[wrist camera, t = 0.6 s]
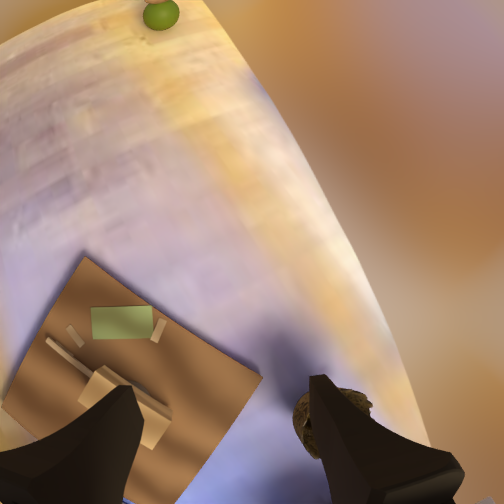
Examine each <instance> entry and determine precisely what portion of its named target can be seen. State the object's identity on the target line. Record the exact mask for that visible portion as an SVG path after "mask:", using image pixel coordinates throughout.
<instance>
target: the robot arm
mask: <svg viewBox="0 0 504 504" xmlns="http://www.w3.org/2000/svg"><path fill="white" fill-rule="evenodd" d="M309 415H310V420H311V426H312V431H313V435H314V439H315V442H316V445H317V448H318V451H319V454H320V457H321V460H322V463H323V466H324V470H325V473H326V476H327V480H328V483H329V488H330V493H331V499H332V504H456V503H455V502H454V500H453V496H454V495H455V493H456V491H457V490H458V489H459V487H460V485H461V484H462V481H463V479H464V476H465V472H464V471H463V469H462V467H461V466H460V464H459V463H458V461H457V460H456V459H455V457H454V456H453V455H452V454H451V453H450V452H446V451H442V450H438V449H434V448H430V447H427V446H424V445H422V444H419V443H416V442H413V441H411V440H409V439H406V438H404V437H402V436H400V435H398V434H396V433H394V432H392V431H390V430H389V429H387V428H385V427H384V426H382V425H380V424H379V423H377V422H376V421H375V420H373V419H372V418H370V417H369V416H368V415H367V414H365V413H364V412H363V411H362V410H360V409H359V408H358V407H357V406H356V405H355V404H354V403H352V402H351V401H350V400H349V399H348V398H347V397H346V396H345V395H344V394H343V393H342V392H341V391H340V390H339V389H338V388H337V387H336V386H335V384H334V383H333V382H332V381H331V380H330V379H329V378H328V376H327V375H325V374H322V375H315V376H309ZM144 421H145V420H144V418H143V415H142V413H141V410H140V407H139V405H138V402H137V399H136V396H135V393H134V391H133V388H132V385H118V386H117V387H115V388H114V389H113V390H111V391H110V392H109V393H108V394H106V395H105V396H104V397H103V398H102V399H101V400H99V401H98V402H97V403H96V404H94V405H93V406H92V407H91V408H90V409H88V410H87V411H86V412H84V413H83V414H82V415H80V416H79V417H78V418H76V419H75V420H74V421H72V422H71V423H69V424H68V425H66V426H65V427H63V428H61V429H60V430H58V431H56V432H54V433H53V434H51V435H49V436H47V437H44V438H42V439H40V440H38V441H36V442H33V443H31V444H28V445H25V446H22V447H19V448H16V449H12V450H8V451H3V452H0V502H1V503H2V504H125V503H123V502H122V501H123V495H124V490H125V486H126V482H127V479H128V476H129V473H130V470H131V467H132V464H133V462H134V459H135V456H136V453H137V450H138V447H139V444H140V441H141V437H142V432H143V427H144ZM475 504H495V502H494V501H493V499H492V498H491V497H487V498H485V499H483V500H481V501H479V502H477V503H475Z"/></svg>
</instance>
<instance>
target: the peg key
mask: <svg viewBox="0 0 504 504" xmlns="http://www.w3.org/2000/svg"><path fill="white" fill-rule="evenodd" d="M46 343H47V344H49V345H50V346H51V347H52V348H53V349H54V350H56V351H57V352H58V353H59V354H60V355H62V356H63V357H64V358H65V359H66V360H68V361H69V362H70V363H71V364H73V365H74V366H75V367H76V368H78V369H79V370H80V371H81V372H83V373H84V374H85V375H87V376H88V377H89V378H90V380H89V382H88V383H87V385H86V387H85V388H84V390H83V392H82V394H81V395H80V397H79V399H78V400H77V401H78V402H80V403H81V404H82V405H84V406H85V407H86V408H88V409H90V408H91V407H92V406H93V405H94V404H96V403H97V402H98V401H99V400H101V399H102V398H103V397H104V396H105V395H106V394H108V393H109V392H110V391H111V390H113V389H114V388H115V387H117V386H118V385H132V388H133V391H134V393H135V396H136V399H137V402H138V405H139V407H140V410H141V413H142V415H143V418H144V420H145V421H144V427H143V432H142V437H141V441H140V443H141V444H142V445H144V446H146V447H148V448H149V449H151V450H153V448H154V447H155V445H156V444H157V442H158V441H159V439H160V438H161V437H162V435H163V434H164V432H165V431H166V429H167V428H168V426H169V425H170V423H171V422H172V413H173V410H171V409H170V408H168V407H166V406H165V405H163V404H161V403H160V402H158V401H157V400H155V399H153V398H152V397H150V394H149V392H148V391H147V389H146V388H145V387H144V386H143V385H141V384H140V383H138V382H136V381H132V380H125V379H123V378H122V377H120V376H119V375H118V374H116V373H115V372H113V371H112V370H111V369H109V368H108V367H106V366H105V365H104V366H102V367H100V368H99V369H97V370H96V371H95V372H94V373H93V372H92V371H91V370H89V369H88V368H87V367H85V366H84V365H83V364H82V363H80V362H79V361H78V360H77V359H75V358H74V357H73V356H72V355H70V354H69V353H68V352H67V351H65V350H64V349H63V348H62V347H61V346H59V345H58V344H57V343H56V342H55V341H54V340H52V339H51V338H50V337H48V338H47V340H46Z"/></svg>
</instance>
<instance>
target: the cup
mask: <svg viewBox="0 0 504 504" xmlns="http://www.w3.org/2000/svg"><path fill="white" fill-rule="evenodd" d="M337 388H338V387H337ZM338 389H339V390H340V391H341V392H342V393H343V394H344V395H345V396H346V397H347V398H348V399H349V400H350V401H351V402H352V403H354V404H355V405H356V406H357V407H358V408H359V409H360V410H362V411H363V412H364V413H365V414H367V415H368V416H369V417H370V413H371V411H370V410H369V408H372V407H373V404H372V403H371V402H370V401H368V400H367V397H366V395H365V394H363V393H361V392H358V391H354V390H352V389H344V388H338ZM370 418H371V417H370ZM372 419H373V418H372ZM373 420H374V419H373ZM293 426H294V429H295V432H296V434H297V436H298V437H299V439H300V441H301V442H302V444H303V446H304V447H305V449H306V450H307V452H309V453H310V455H311V456H312V457H313V458H314V459H319V458H320V459H321V457H320V454H319V451H318V448H317V445H316V442H315V439H314V435H313V431H312V426H311V420H310V415H309V392H307V393H306V394H305V395H303V396H302V397H301V398H300V400H299V401H298V402H297V404H296V406H295V408H294V412H293Z"/></svg>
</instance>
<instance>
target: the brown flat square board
mask: <svg viewBox="0 0 504 504" xmlns="http://www.w3.org/2000/svg"><path fill="white" fill-rule="evenodd" d="M48 337H50V338H51V339H52V340H54V341H55V342H56V343H57V344H58V345H59V346H61V347H62V348H63V349H64V350H65V351H67V352H68V353H69V354H70V355H72V356H73V357H74V358H75V359H77V360H78V361H79V362H80V363H82V364H83V365H84V366H85V367H87V368H88V369H89V370H91V371H92V372H93V373H94V372H95V371H96V370H97V369H99V368H100V367H102V366H104V365H105V366H106V367H108V368H109V369H111V370H112V371H113V372H115V373H116V374H118V375H119V376H120V377H122V378H123V379H125V380H132V381H136V382H138V383H140V384H141V385H143V386H144V387H145V388H146V389H147V391H148V392H149V394H150V397H152V398H153V399H155V400H157V401H158V402H160V403H161V404H163V405H165V406H166V407H168V408H170V409H171V410H173V413H172V422H171V423H170V425H169V426H168V428H167V429H166V431H165V432H164V434H163V435H162V437H161V438H160V439H159V441H158V442H157V444H156V445H155V447H154V448H153V450H151V449H149V448H148V447H146V446H144V445H142V444H141V443H140V444H139V447H138V450H137V453H136V456H135V459H134V462H133V464H132V467H131V470H130V473H129V476H128V479H127V482H126V486H125V490H124V495H123V497H124V498H126V499H128V500H130V501H132V502H134V503H136V504H174V503H175V502H176V501H177V499H178V498H179V497H180V496H181V494H182V493H183V492H184V490H185V489H186V488H187V486H188V485H189V484H190V483H191V481H192V480H193V479H194V477H195V476H196V475H197V473H198V472H199V470H200V469H201V468H202V466H203V465H204V464H205V462H206V461H207V460H208V458H209V457H210V455H211V454H212V453H213V451H214V450H215V448H216V447H217V446H218V444H219V443H220V441H221V440H222V438H223V437H224V436H225V434H226V433H227V431H228V430H229V428H230V427H231V425H232V424H233V423H234V421H235V420H236V418H237V417H238V415H239V414H240V412H241V411H242V409H243V408H244V406H245V405H246V403H247V402H248V400H249V399H250V397H251V396H252V394H253V392H254V391H255V389H256V388H257V386H258V385H259V383H260V382H261V380H262V379H263V377H262V376H261V375H259V374H257V373H256V372H254V371H252V370H251V369H249V368H247V367H245V366H244V365H242V364H240V363H239V362H237V361H235V360H234V359H232V358H231V357H229V356H227V355H226V354H224V353H222V352H221V351H219V350H218V349H216V348H214V347H213V346H211V345H210V344H208V343H206V342H205V341H203V340H202V339H200V338H199V337H197V336H196V335H194V334H193V333H191V332H189V331H188V330H186V329H185V328H183V327H182V326H180V325H179V324H177V323H176V322H174V321H173V320H172V319H170V318H169V317H167V316H166V315H164V314H163V313H161V312H160V311H158V310H157V309H156V308H154V307H153V306H152V305H150V304H149V303H147V302H146V301H144V300H143V299H141V298H140V297H139V296H137V295H136V294H135V293H133V292H132V291H130V290H129V289H128V288H126V287H125V286H124V285H122V284H121V283H120V282H118V281H117V280H116V279H114V278H113V277H112V276H110V275H109V274H108V273H106V272H105V271H104V270H103V269H101V268H100V267H99V266H97V265H96V264H95V263H94V262H92V261H91V260H90V259H89V258H87V257H84V258H83V260H82V261H81V263H80V264H79V266H78V267H77V269H76V270H75V272H74V273H73V275H72V276H71V278H70V280H69V281H68V283H67V284H66V286H65V287H64V289H63V291H62V292H61V294H60V296H59V297H58V299H57V300H56V302H55V304H54V305H53V307H52V309H51V310H50V312H49V314H48V316H47V317H46V319H45V321H44V323H43V324H42V326H41V328H40V330H39V331H38V333H37V335H36V337H35V339H34V341H33V342H32V344H31V346H30V348H29V350H28V352H27V354H26V356H25V358H24V360H23V362H22V363H21V365H20V367H19V370H18V372H17V374H16V376H15V378H14V380H13V382H12V384H11V386H10V388H9V391H8V393H7V395H6V397H5V399H4V402H3V404H2V406H1V407H2V408H3V409H4V410H5V411H6V412H7V413H8V414H9V415H10V416H11V417H12V418H13V419H14V420H16V421H17V422H18V423H19V424H20V425H21V426H22V427H24V428H25V429H26V430H27V431H28V432H29V433H31V434H32V435H33V436H34V437H35V438H37V439H38V440H40V439H42V438H44V437H47V436H49V435H51V434H53V433H54V432H56V431H58V430H60V429H61V428H63V427H65V426H66V425H68V424H69V423H71V422H72V421H74V420H75V419H76V418H78V417H79V416H80V415H82V414H83V413H84V412H86V411H87V410H88V408H86V407H85V406H84V405H82V404H81V403H80V402H78V401H77V400H78V399H79V397H80V395H81V394H82V392H83V390H84V388H85V387H86V385H87V383H88V382H89V380H90V378H89V377H88V376H87V375H85V374H84V373H83V372H81V371H80V370H79V369H78V368H76V367H75V366H74V365H73V364H71V363H70V362H69V361H68V360H66V359H65V358H64V357H63V356H62V355H60V354H59V353H58V352H57V351H56V350H54V349H53V348H52V347H51V346H50V345H49V344H47V343H46V340H47V338H48Z"/></svg>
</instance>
